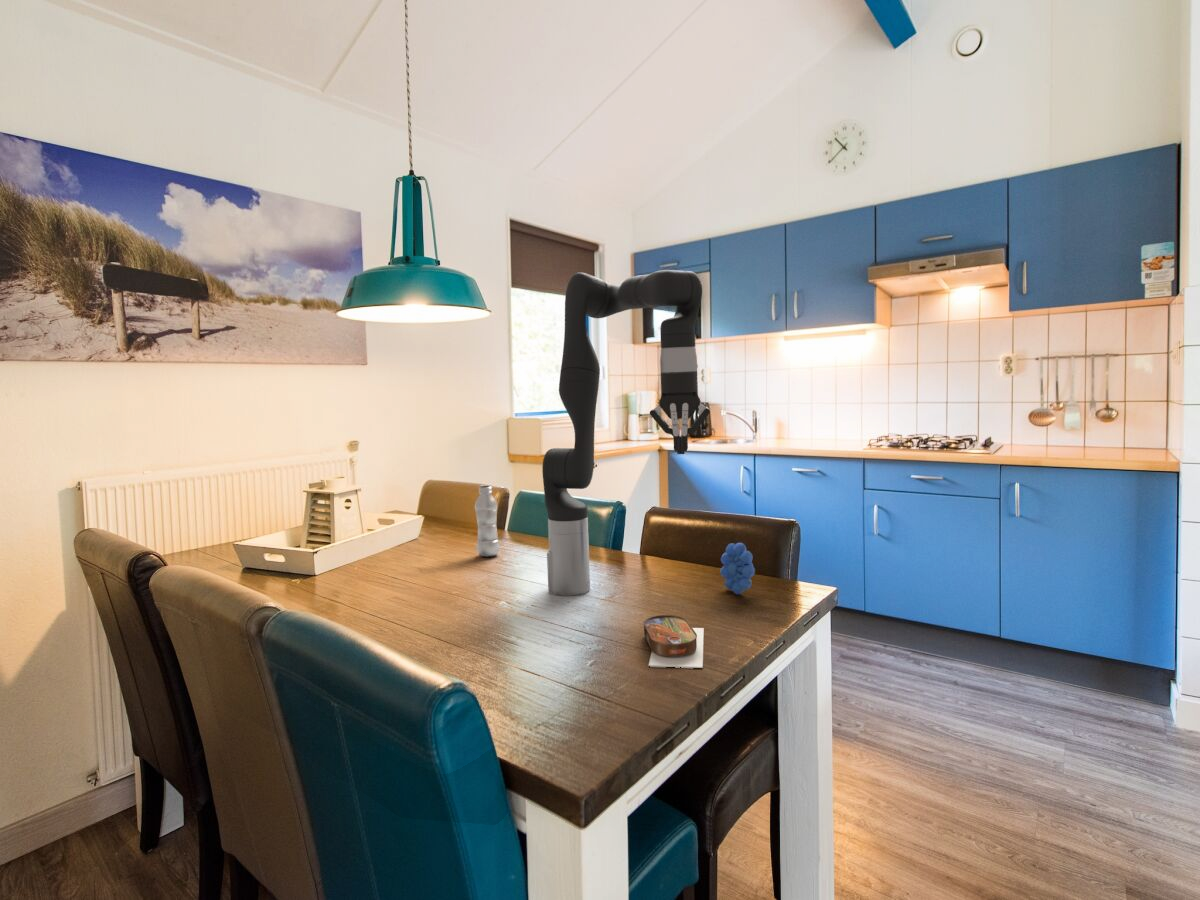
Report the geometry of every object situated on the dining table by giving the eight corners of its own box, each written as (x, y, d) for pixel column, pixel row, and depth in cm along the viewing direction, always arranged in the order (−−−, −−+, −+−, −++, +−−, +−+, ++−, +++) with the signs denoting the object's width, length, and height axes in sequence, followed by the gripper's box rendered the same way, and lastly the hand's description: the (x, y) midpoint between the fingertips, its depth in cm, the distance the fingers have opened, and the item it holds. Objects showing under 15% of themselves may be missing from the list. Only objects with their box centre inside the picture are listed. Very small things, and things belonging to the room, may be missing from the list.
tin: (640, 616, 130) (683, 610, 131) (641, 632, 131) (684, 626, 131) (653, 645, 115) (701, 638, 116) (655, 663, 116) (703, 656, 116)
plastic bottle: (504, 553, 194) (501, 484, 192) (493, 559, 188) (489, 488, 186) (484, 552, 196) (481, 484, 194) (472, 558, 190) (469, 488, 188)
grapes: (769, 598, 147) (769, 544, 146) (743, 603, 145) (742, 548, 144) (738, 584, 158) (738, 534, 157) (713, 588, 155) (713, 537, 154)
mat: (648, 666, 114) (648, 665, 114) (657, 628, 132) (656, 626, 132) (702, 668, 112) (702, 667, 112) (703, 629, 130) (703, 628, 130)
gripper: (644, 371, 136) (647, 456, 138) (710, 369, 134) (712, 455, 136) (648, 371, 144) (651, 452, 146) (711, 368, 141) (713, 450, 143)
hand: (681, 453), depth 141 cm, fingers closed
